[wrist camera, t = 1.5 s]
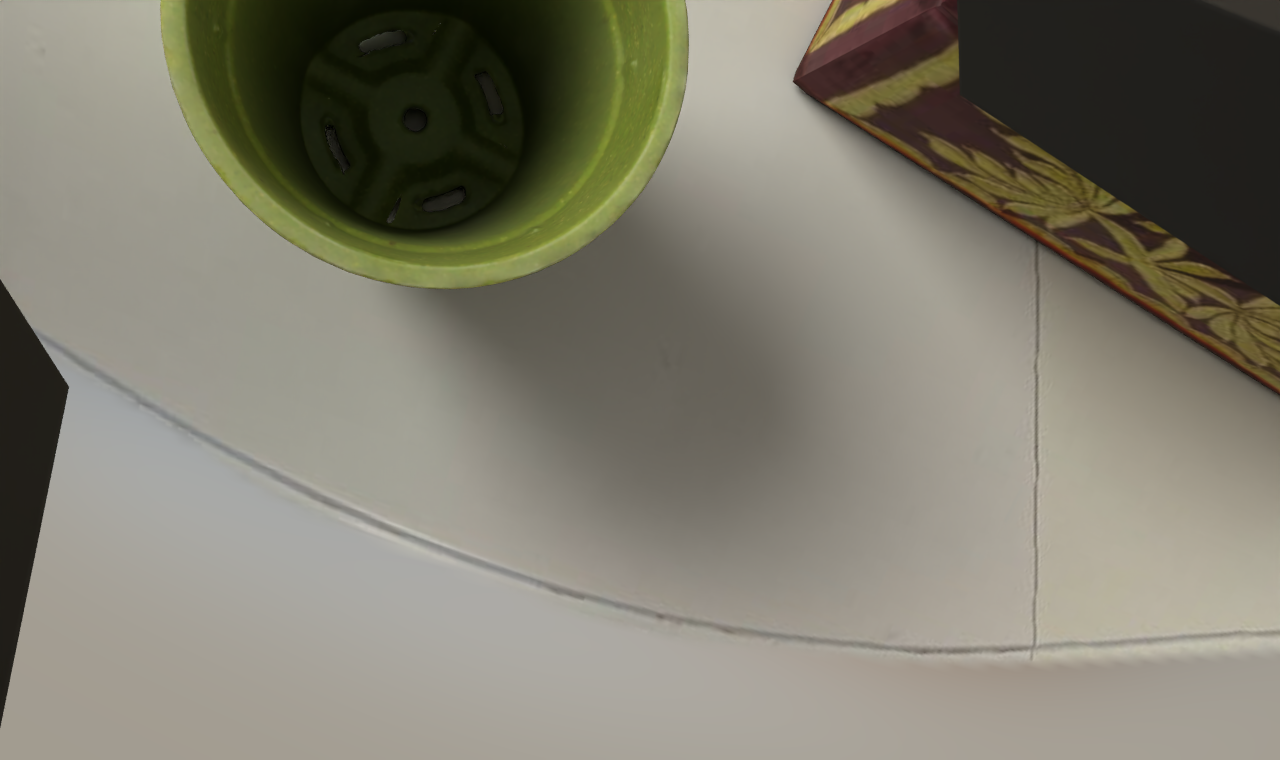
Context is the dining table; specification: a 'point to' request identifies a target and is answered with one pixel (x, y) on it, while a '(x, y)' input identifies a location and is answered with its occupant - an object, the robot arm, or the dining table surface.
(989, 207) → the decorative box
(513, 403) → the dining table surface
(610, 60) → the plant pot
